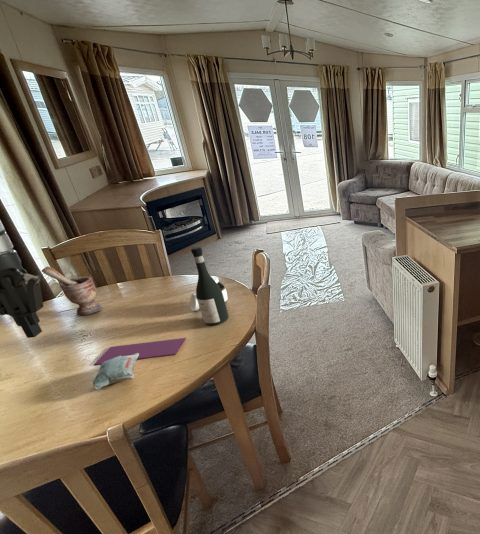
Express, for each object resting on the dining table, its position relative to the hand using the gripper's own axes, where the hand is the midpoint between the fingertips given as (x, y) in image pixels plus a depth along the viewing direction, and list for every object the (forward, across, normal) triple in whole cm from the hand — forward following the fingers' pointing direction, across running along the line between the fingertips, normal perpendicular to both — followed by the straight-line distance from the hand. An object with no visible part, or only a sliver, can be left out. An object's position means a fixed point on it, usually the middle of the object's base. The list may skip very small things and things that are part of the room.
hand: (34, 334), depth 90 cm
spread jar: (+18, -26, -39) cm, 50 cm away
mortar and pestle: (+19, +18, -46) cm, 53 cm away
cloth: (+18, -14, -13) cm, 26 cm away
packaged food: (+18, -14, -1) cm, 23 cm away
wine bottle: (+18, -32, -27) cm, 46 cm away
